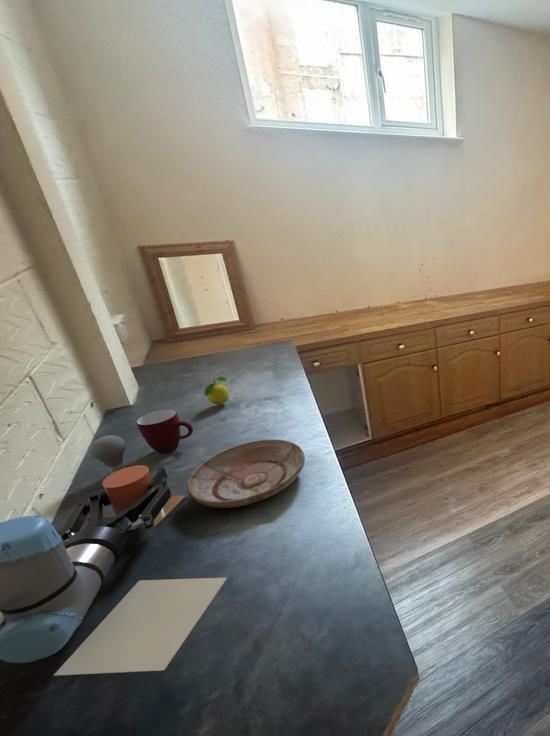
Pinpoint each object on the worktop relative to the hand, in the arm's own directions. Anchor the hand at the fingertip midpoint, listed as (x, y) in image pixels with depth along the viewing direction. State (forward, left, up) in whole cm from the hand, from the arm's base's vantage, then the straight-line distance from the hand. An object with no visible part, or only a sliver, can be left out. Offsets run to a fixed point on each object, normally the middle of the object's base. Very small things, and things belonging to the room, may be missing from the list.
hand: (141, 476), depth 87 cm
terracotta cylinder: (+2, -5, -6) cm, 8 cm away
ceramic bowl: (+20, +5, -7) cm, 21 cm away
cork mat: (+2, -5, -7) cm, 8 cm away
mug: (-9, +20, -7) cm, 23 cm away
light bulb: (-15, +10, -7) cm, 20 cm away
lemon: (-11, +44, -7) cm, 46 cm away
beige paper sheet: (+22, -29, -7) cm, 36 cm away
